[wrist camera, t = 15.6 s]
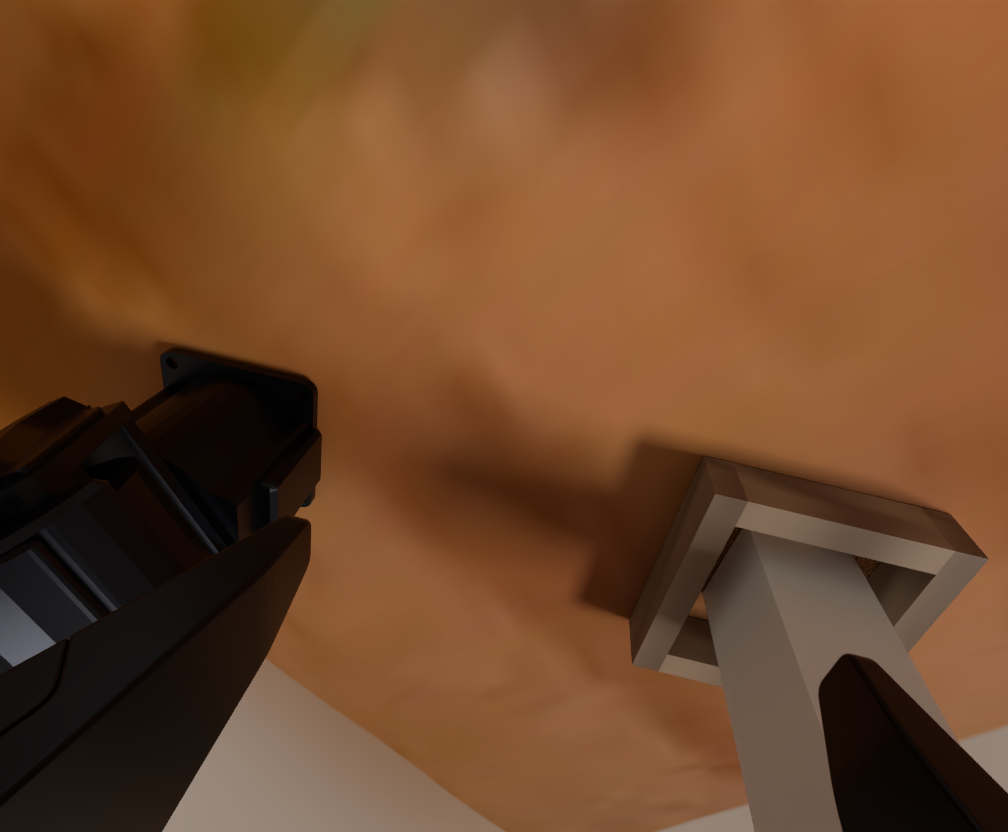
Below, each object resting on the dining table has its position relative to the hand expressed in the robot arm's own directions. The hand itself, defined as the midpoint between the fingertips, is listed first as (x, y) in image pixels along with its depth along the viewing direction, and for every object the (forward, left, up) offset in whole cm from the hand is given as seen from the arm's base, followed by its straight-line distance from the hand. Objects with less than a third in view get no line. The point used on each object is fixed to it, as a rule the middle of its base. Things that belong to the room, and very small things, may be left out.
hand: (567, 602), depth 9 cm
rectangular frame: (+11, -9, -13) cm, 19 cm away
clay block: (+11, -9, -13) cm, 19 cm away
